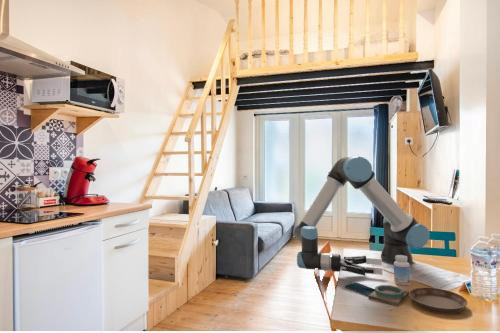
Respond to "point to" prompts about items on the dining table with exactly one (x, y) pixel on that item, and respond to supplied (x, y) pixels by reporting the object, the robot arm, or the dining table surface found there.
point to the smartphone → (360, 288)
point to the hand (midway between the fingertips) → (382, 266)
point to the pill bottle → (401, 270)
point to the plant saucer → (438, 300)
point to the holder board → (389, 301)
